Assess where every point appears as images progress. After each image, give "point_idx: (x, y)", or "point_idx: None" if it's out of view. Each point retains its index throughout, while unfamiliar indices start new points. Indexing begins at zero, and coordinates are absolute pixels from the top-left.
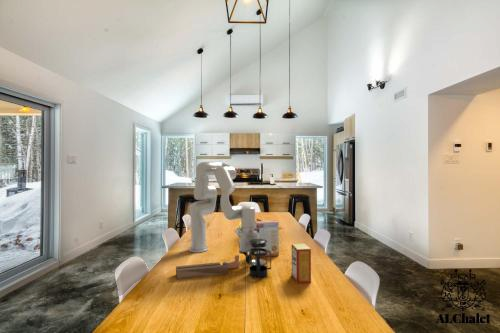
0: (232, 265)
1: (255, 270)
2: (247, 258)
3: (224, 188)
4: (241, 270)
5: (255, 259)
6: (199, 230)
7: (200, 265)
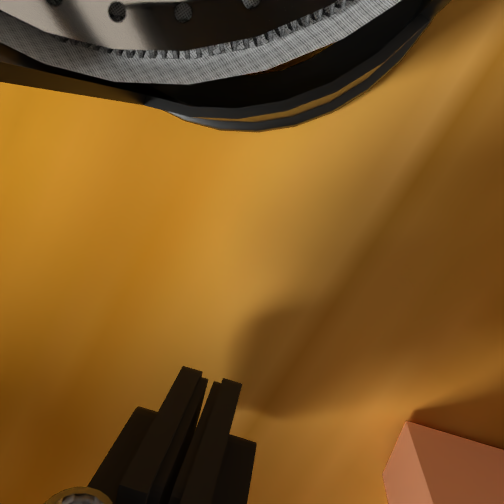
0: None
1: (222, 93)
2: (214, 496)
3: None
4: (431, 297)
5: (118, 32)
6: None
7: None
